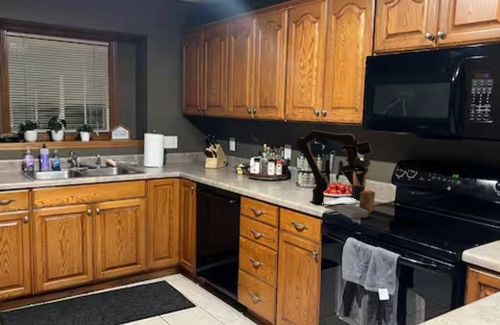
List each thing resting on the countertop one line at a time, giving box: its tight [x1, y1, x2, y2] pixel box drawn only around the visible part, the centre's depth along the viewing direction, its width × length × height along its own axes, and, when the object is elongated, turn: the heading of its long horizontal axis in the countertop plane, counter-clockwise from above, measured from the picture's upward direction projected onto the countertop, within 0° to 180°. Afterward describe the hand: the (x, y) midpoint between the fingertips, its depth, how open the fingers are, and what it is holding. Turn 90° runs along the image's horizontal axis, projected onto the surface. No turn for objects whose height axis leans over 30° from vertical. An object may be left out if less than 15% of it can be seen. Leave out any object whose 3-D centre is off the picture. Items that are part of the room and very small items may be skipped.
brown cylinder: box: [358, 191, 376, 214], centre depth 239 cm, size 6×6×10 cm
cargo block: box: [363, 188, 374, 194], centre depth 238 cm, size 4×4×3 cm
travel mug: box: [350, 166, 368, 201], centre depth 262 cm, size 8×8×20 cm
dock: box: [336, 204, 369, 219], centre depth 233 cm, size 12×11×3 cm
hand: (357, 185), depth 234 cm, fingers open, 9 cm apart
